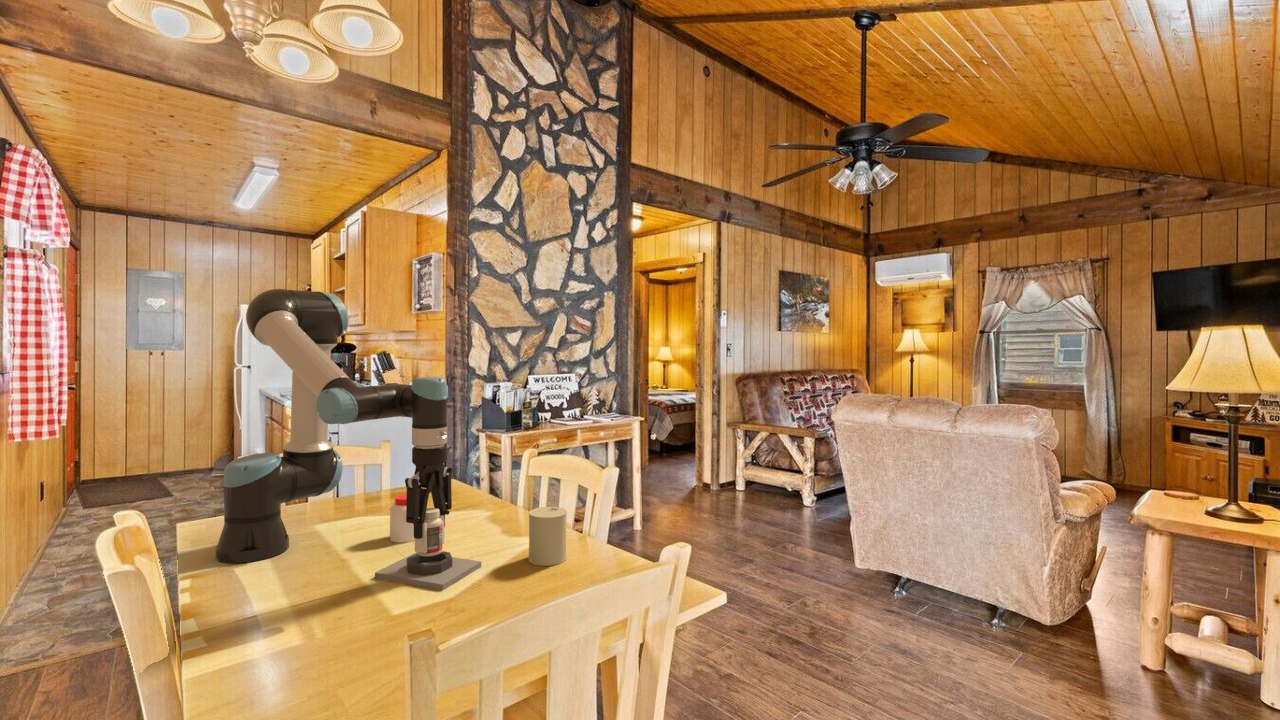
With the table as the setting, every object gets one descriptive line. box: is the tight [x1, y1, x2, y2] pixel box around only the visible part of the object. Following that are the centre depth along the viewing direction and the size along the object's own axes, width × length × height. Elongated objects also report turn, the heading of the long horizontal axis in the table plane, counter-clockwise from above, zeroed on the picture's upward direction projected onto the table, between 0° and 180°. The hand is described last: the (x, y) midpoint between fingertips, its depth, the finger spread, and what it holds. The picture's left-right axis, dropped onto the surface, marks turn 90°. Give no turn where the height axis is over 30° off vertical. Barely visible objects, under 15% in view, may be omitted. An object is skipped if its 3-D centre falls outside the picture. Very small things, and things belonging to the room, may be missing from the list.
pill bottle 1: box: [389, 493, 415, 544], centre depth 158 cm, size 8×8×11 cm
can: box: [527, 506, 568, 567], centre depth 145 cm, size 9×9×12 cm
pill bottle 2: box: [418, 507, 443, 556], centre depth 135 cm, size 5×5×10 cm
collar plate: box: [374, 550, 482, 591], centre depth 135 cm, size 18×14×3 cm
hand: (429, 547), depth 135 cm, fingers closed on pill bottle 2, 5 cm apart
